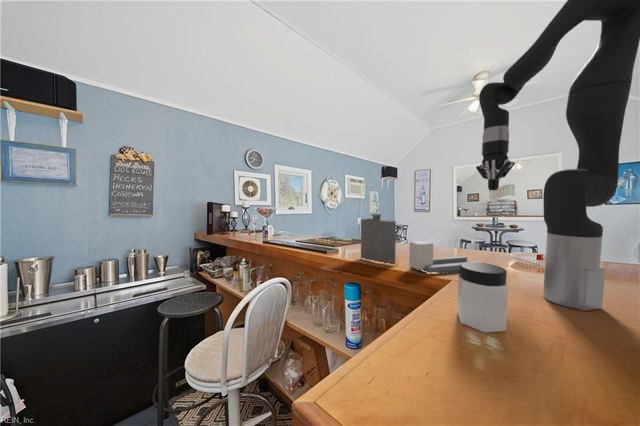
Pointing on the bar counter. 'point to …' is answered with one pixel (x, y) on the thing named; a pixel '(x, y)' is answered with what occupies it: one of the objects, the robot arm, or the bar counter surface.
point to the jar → (482, 296)
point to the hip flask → (378, 239)
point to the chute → (447, 264)
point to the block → (421, 254)
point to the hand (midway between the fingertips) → (493, 190)
